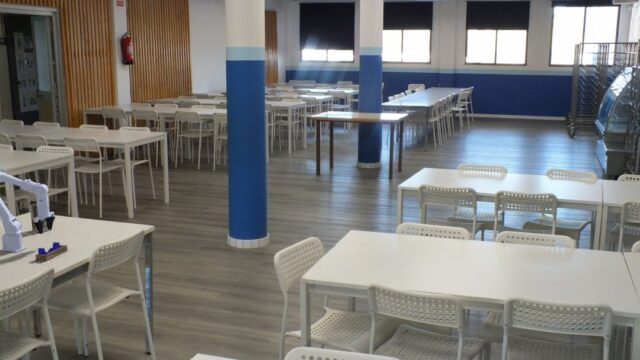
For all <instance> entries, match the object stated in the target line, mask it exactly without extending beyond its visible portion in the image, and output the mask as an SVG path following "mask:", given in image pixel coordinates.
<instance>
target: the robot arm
mask: <svg viewBox="0 0 640 360" xmlns="http://www.w3.org/2000/svg"><path fill="white" fill-rule="evenodd" d="M5 182H6V183H8V184H11V185H15V186H18V187H20V189H21V190H22V191H26V192H28V193H31V194H34V195H35V196H36V203H37V209H38V216H37V217H35V218H34V221H33V224H34V225H35V226H36V228H37V230H38V232H37V233H38V234H39V235H43V234H44V232H43V224H44V222H43V221H41V220H42V219H45V220H46V223H47V229H48V230H50V231H52V229H53V225H54V221H55V219H56V216H55V212H54V211H50V203H49V195H48V193H49V187H48V185H47V184H45V183H40V182H34V181H32V179H30V178H28V179H24V180H23V179H20V178H18V177H16V176H13V175H11V174H8V173H6V172H4V171H0V183H5ZM0 219H1V221H2V226H3V228H4V229H3V230H4V232H5V233H4V234H3V235H2V237H1V244H2V250H1V251H2V252H9V253H10V252H13V253H18V252H20V251H23V250H24V249H27V246H23V237H22V231H21V229H22V226H23V224H22V222H21V220H19V219H18V218H17V217H16V216H14V215H13V214H12V213H11V211H10V210H9V208H8V206H7V205H6V204H5V202H4V201H3V200H2V197H0Z"/></svg>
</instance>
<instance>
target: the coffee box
mask: <svg viewBox="0 0 640 360" xmlns="http://www.w3.org/2000/svg"><path fill="white" fill-rule="evenodd" d="M29 210H30V211H29V212H30V219H31V220H30V221H31V230H32V232H37V233H38V230H37V228H36V226H35V225H34V224H33V221H34V218H35V217H37V216H38V209H37V202H36V203H32V204H29ZM41 221H43V222H44V224H43V233H46V232H50V231H51V230H48V229H47V223H46V220H45V219H42V220H41Z"/></svg>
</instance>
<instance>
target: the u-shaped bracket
mask: <svg viewBox="0 0 640 360" xmlns="http://www.w3.org/2000/svg"><path fill="white" fill-rule="evenodd" d="M67 252H68V245H66V244H60V248H58V249H56V250H54V251H52V252H50V253H48V254H46V255H42V254H38V253H37V254H35V261H36V262H37V261H38V262H47V261H50V260H53V259H55V258H56V257H58V256H61V255H62V254H64V253H67Z"/></svg>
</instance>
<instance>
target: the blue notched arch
mask: <svg viewBox="0 0 640 360" xmlns="http://www.w3.org/2000/svg"><path fill="white" fill-rule="evenodd" d="M60 245H61V244H60V242H58V241H54V242H52V247H50V248H49V249H48V250H47V251H46V250H45V247H39V248H37V251H38V253H37V254H42V255H46V254H48V253H50V252H52V251H54V250H56V249H58V248H60Z"/></svg>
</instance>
